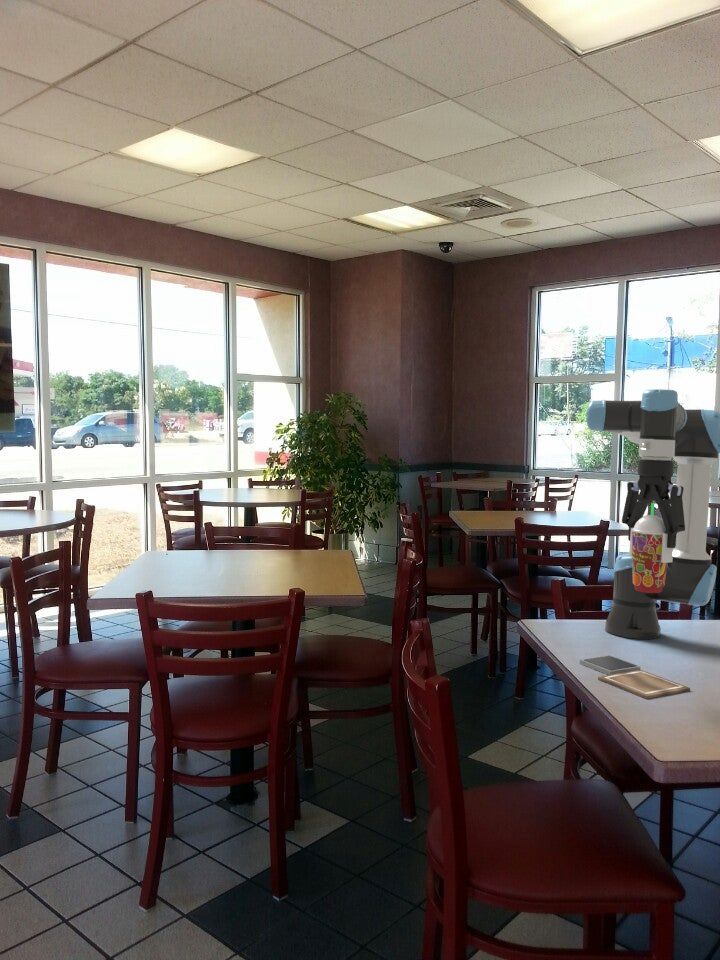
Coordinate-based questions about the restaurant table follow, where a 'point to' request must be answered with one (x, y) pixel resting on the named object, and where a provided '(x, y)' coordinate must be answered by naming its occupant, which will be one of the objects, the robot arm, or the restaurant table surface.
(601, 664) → the ink pad
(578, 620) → the restaurant table surface
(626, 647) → the restaurant table surface
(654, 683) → the board
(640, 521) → the smoothie
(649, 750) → the restaurant table surface
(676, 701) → the restaurant table surface
